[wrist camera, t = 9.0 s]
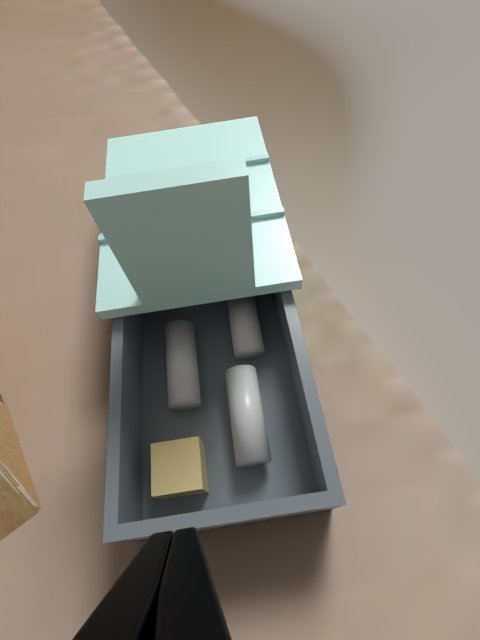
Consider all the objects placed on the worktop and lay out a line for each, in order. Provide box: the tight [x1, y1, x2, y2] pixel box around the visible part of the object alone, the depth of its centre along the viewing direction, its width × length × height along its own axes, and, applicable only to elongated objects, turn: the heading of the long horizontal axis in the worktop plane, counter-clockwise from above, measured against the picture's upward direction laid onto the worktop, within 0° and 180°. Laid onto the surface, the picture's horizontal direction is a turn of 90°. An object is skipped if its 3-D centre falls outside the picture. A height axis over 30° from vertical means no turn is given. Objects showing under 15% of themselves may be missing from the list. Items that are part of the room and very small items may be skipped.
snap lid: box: [83, 116, 302, 320], centre depth 20 cm, size 15×11×8 cm
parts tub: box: [102, 290, 346, 543], centre depth 20 cm, size 14×10×4 cm
